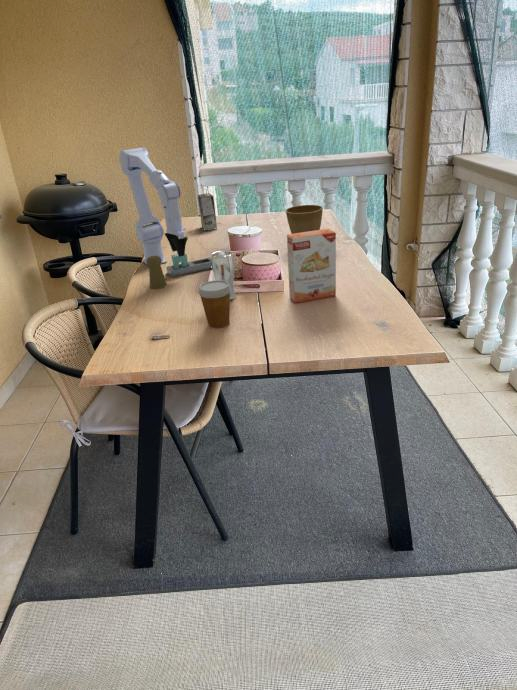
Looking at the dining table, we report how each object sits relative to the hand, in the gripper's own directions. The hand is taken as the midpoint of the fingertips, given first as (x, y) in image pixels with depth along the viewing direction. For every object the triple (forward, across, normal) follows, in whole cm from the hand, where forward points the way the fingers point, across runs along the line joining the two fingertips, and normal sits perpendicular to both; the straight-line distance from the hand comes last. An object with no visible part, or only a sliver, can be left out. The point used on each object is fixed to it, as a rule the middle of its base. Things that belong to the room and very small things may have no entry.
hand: (178, 253), depth 196 cm
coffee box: (+8, +57, -33) cm, 66 cm away
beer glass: (+8, -35, -4) cm, 36 cm away
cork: (+8, -9, +12) cm, 17 cm away
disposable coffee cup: (+7, -53, +6) cm, 54 cm away
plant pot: (+8, -3, -53) cm, 54 cm away
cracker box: (+7, -52, -27) cm, 59 cm away
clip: (+8, 0, 0) cm, 8 cm away
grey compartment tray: (+8, 0, -4) cm, 9 cm away
